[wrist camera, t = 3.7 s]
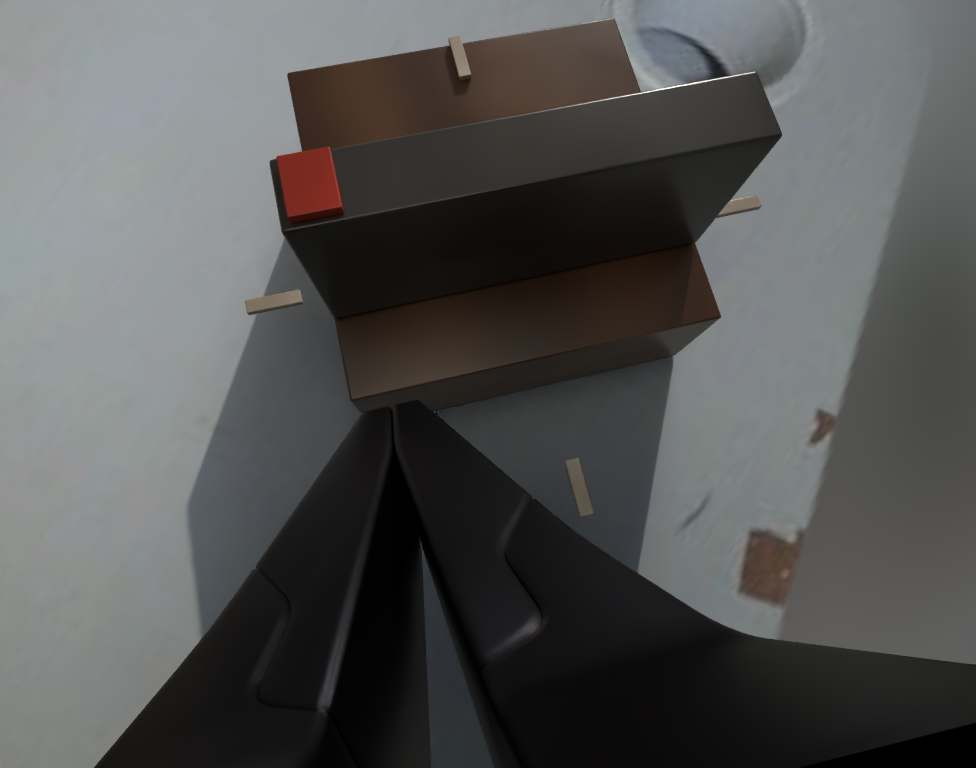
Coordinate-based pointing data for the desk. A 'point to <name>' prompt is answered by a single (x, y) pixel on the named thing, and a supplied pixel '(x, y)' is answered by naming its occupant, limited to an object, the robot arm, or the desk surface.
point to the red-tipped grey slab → (520, 192)
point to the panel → (516, 304)
